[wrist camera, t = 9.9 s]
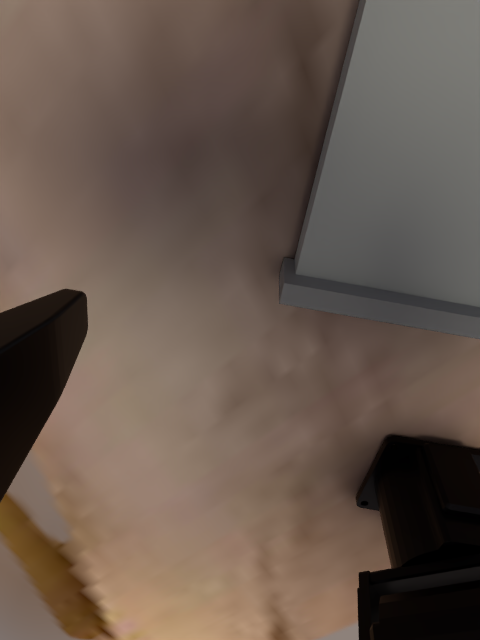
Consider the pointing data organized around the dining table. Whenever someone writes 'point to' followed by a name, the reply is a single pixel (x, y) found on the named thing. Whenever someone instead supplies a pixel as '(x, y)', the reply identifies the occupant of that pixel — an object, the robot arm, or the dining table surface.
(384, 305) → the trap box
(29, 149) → the dining table surface
